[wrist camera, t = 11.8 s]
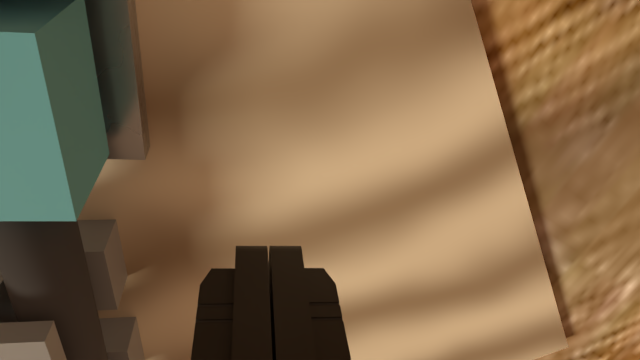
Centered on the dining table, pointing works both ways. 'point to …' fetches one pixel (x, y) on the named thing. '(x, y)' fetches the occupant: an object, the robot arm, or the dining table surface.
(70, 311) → the cable arm
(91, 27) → the end holder
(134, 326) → the clip
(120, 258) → the clip
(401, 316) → the board
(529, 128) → the dining table surface
